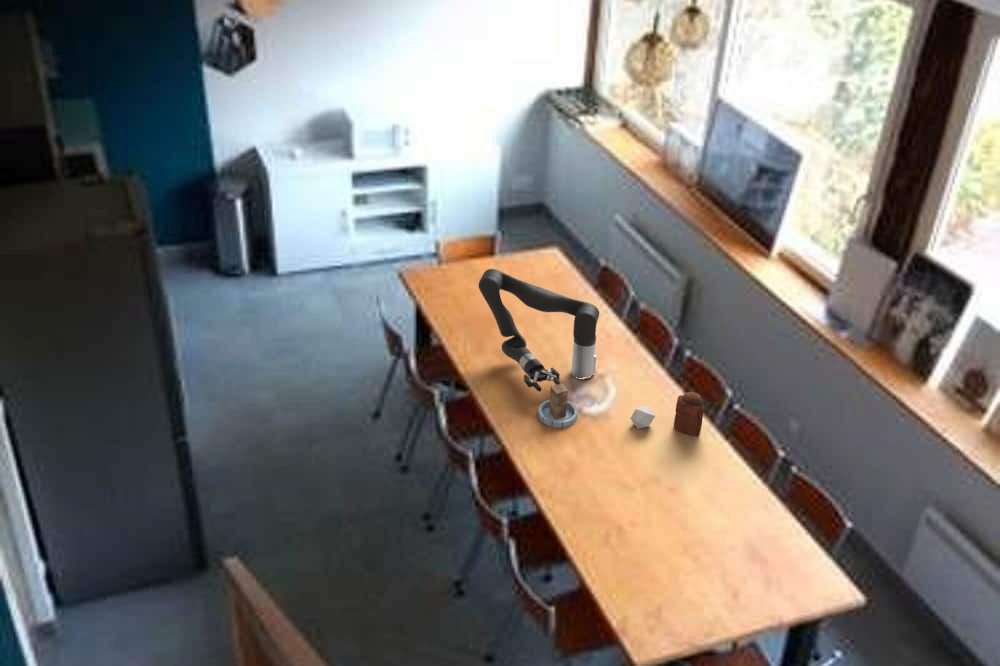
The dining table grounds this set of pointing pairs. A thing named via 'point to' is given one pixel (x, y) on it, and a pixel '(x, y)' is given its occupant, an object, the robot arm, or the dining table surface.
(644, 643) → the dining table surface
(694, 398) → the wooden figurine
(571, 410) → the bowl
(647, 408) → the die
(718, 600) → the dining table surface
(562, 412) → the walnut block
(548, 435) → the dining table surface
